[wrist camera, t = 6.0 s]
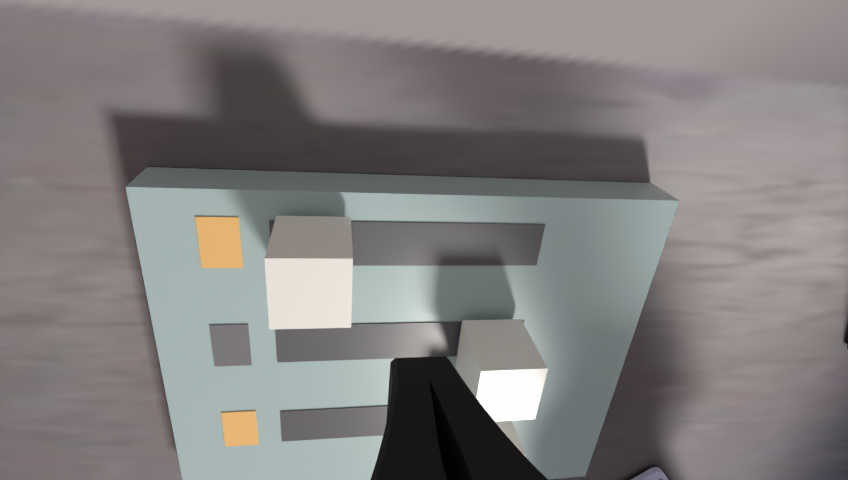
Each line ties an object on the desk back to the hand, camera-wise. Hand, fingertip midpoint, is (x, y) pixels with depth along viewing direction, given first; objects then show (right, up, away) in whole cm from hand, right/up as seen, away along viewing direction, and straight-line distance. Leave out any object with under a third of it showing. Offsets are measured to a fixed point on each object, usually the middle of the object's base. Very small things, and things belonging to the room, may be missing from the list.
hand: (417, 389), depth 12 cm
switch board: (-1, -1, +11) cm, 11 cm away
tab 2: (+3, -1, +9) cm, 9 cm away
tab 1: (-4, +3, +6) cm, 8 cm away
